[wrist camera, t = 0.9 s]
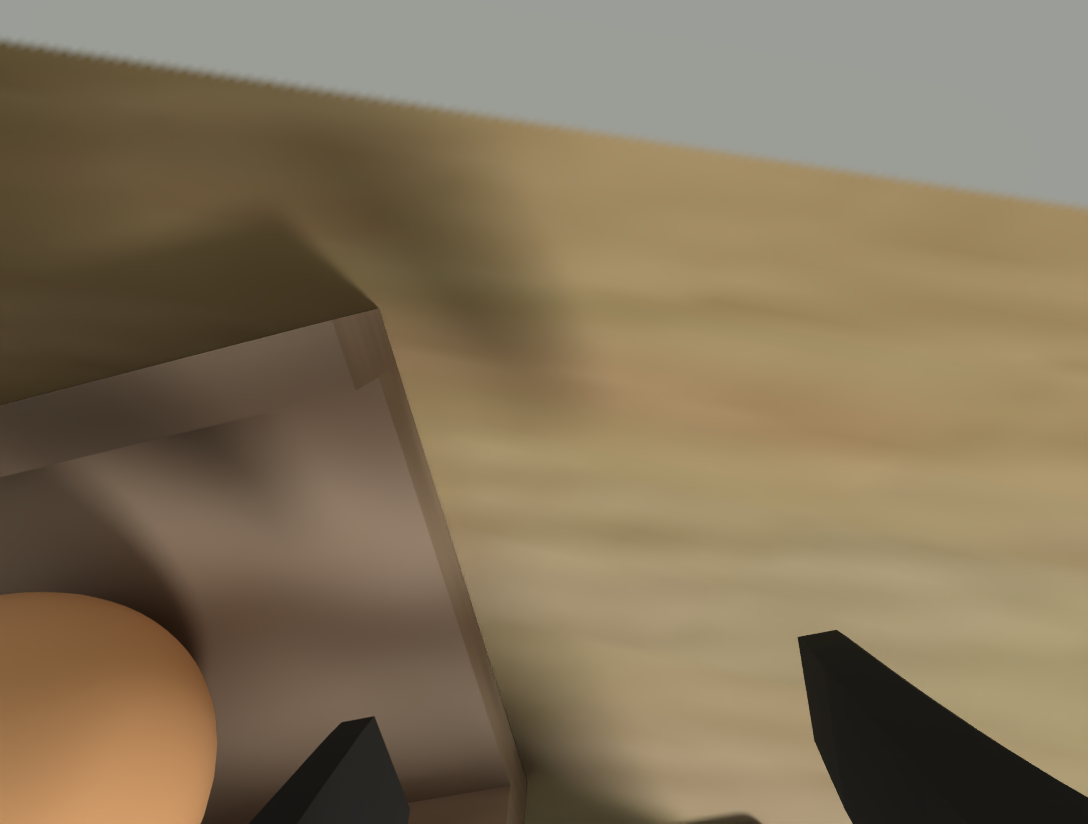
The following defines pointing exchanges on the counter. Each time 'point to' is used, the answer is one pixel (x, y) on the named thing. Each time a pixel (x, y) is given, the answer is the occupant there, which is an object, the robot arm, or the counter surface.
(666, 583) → the counter surface
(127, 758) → the ball
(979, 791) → the robot arm
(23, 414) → the tray
